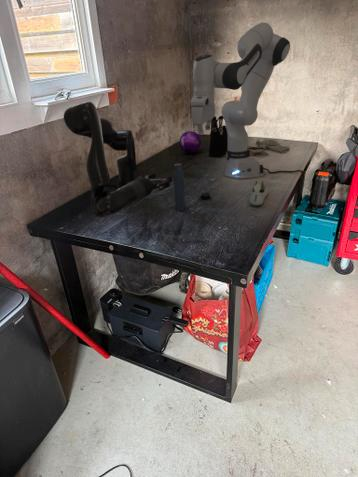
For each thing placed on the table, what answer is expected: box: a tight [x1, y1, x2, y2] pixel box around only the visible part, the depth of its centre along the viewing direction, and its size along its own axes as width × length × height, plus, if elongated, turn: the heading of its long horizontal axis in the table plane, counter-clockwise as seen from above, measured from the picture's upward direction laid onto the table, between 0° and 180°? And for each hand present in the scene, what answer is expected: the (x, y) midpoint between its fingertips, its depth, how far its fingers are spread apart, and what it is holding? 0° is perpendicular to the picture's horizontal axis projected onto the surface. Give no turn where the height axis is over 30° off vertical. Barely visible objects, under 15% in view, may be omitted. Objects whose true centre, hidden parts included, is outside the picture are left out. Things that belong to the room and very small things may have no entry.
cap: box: [200, 192, 211, 201], centre depth 163 cm, size 4×4×2 cm
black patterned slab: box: [208, 115, 228, 158], centre depth 222 cm, size 21×9×25 cm, turn 148°
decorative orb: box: [178, 130, 202, 154], centre depth 230 cm, size 15×15×15 cm
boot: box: [209, 115, 219, 139], centre depth 247 cm, size 9×24×20 cm, turn 168°
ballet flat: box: [249, 179, 269, 207], centre depth 158 cm, size 8×24×8 cm, turn 163°
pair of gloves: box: [247, 138, 291, 157], centre depth 228 cm, size 30×26×5 cm
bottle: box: [173, 162, 186, 212], centre depth 148 cm, size 4×4×21 cm
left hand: (162, 176), depth 137 cm, fingers open, 8 cm apart
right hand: (204, 131), depth 147 cm, fingers open, 8 cm apart
